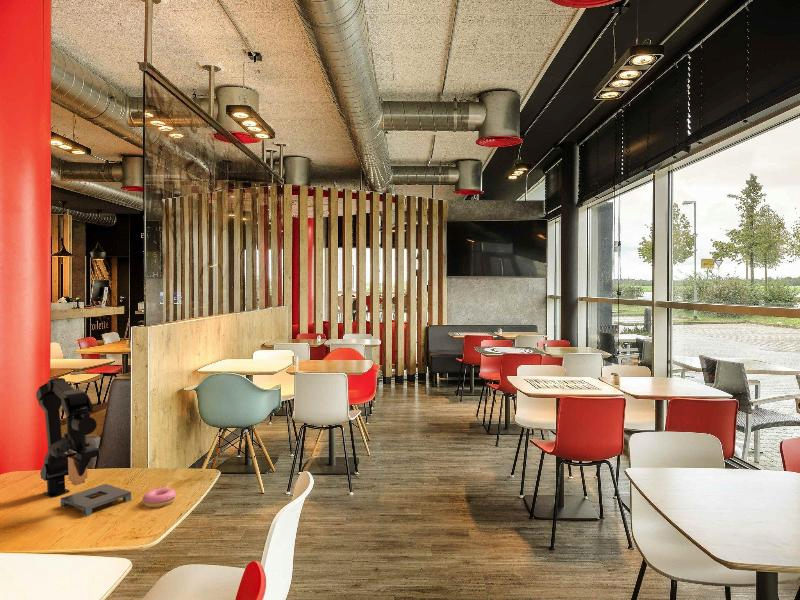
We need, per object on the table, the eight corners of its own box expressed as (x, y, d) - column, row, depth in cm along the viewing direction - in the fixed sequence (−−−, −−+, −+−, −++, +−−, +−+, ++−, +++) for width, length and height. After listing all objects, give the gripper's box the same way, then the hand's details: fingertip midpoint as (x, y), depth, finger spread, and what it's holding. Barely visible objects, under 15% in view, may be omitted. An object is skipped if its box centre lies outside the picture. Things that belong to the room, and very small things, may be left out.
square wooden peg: (68, 484, 193) (67, 456, 192) (82, 480, 196) (81, 453, 196) (74, 486, 191) (73, 458, 190) (87, 482, 195) (86, 455, 194)
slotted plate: (60, 506, 196) (60, 498, 196) (105, 491, 210) (105, 483, 210) (86, 516, 188) (85, 507, 187) (131, 500, 201) (130, 491, 201)
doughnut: (180, 496, 204) (180, 484, 204) (170, 508, 193) (169, 496, 193) (149, 497, 204) (149, 486, 204) (137, 509, 193) (137, 497, 193)
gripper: (37, 431, 192) (39, 476, 192) (65, 439, 181) (67, 487, 182) (71, 423, 201) (73, 467, 201) (100, 431, 190) (101, 476, 191)
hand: (78, 474), depth 194 cm, fingers closed on square wooden peg, 3 cm apart
